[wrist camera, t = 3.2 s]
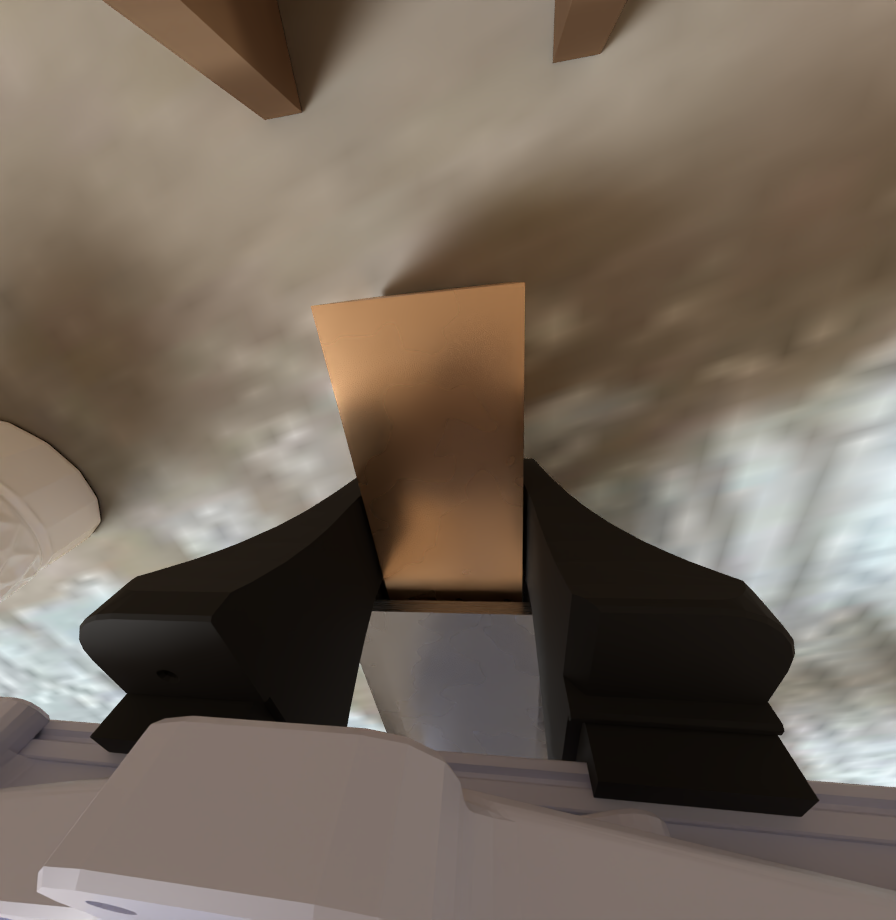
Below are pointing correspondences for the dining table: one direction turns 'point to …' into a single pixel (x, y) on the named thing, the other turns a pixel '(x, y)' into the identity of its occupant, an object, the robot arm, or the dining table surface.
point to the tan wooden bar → (436, 434)
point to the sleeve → (457, 674)
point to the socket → (265, 50)
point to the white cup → (38, 507)
